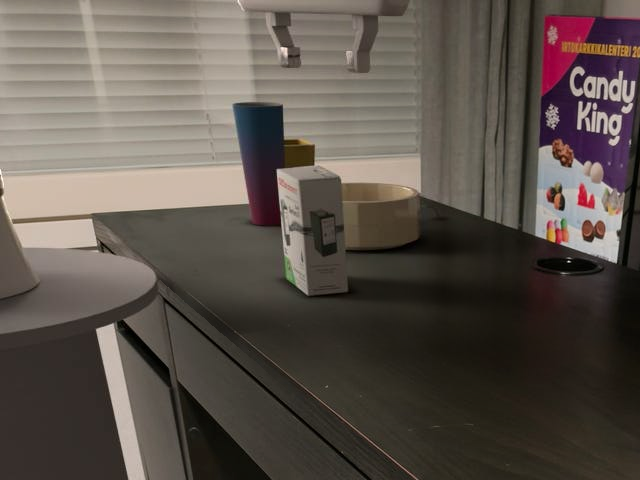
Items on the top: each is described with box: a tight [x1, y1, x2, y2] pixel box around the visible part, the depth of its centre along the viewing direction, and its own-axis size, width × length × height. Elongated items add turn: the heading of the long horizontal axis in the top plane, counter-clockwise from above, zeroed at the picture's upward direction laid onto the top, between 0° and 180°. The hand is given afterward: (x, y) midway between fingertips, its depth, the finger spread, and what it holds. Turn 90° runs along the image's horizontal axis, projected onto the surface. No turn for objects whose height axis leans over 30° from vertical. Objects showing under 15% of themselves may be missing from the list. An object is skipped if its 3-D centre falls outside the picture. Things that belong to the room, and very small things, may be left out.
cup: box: [231, 101, 285, 227], centre depth 130 cm, size 7×7×15 cm
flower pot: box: [284, 138, 316, 168], centre depth 143 cm, size 9×9×9 cm
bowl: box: [341, 182, 421, 251], centre depth 124 cm, size 16×16×6 cm
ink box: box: [277, 165, 349, 297], centre depth 101 cm, size 9×5×12 cm, turn 27°
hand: (323, 70), depth 91 cm, fingers open, 8 cm apart
